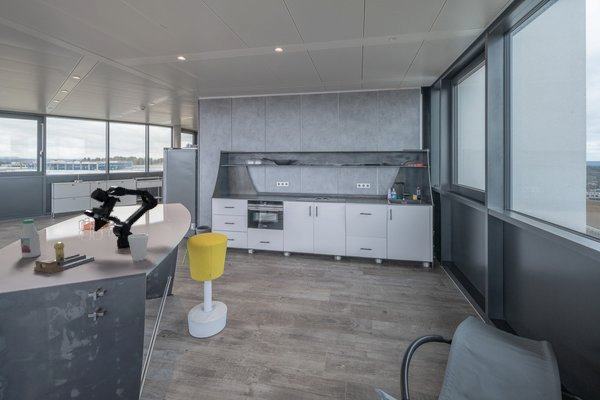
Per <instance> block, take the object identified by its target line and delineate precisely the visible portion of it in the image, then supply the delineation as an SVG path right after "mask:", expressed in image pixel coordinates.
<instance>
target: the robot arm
mask: <svg viewBox="0 0 600 400" xmlns="http://www.w3.org/2000/svg"><path fill="white" fill-rule="evenodd" d="M124 196H140V199H141V201H142V203H141V206H139V208H137V209H136V210H135V211H134V212H132V214H131V215H130V216H128V218H126V219H125V220H124V221H121V219H120V218H118V217H116V216H113V215H111V214H112V213H113V212H115V211H114V208H115V206H116V205H117V203H121V202H122V201H121V199H120V197H124ZM90 198H91V199H92V200H95V201H97V202H99V203H103V204H100V205H99V206H93V207H92V209H91V210H88V209H86V210H85V211H84V212H83V215H85V216H87V217H88V218H92V219H93V221H94V226H93V227H94V229H93V230H94V232H96V233H97V232H98V231H99V230H101V229H102V228H103V227H104V226H106V225H107V224H110V222H113V224H114V225H113V227H112V233H113V234H114V235H115V237H116V238H117V239H116V245H117V246H116V247H117V249H125V248H130V245H129V241H128V236H129V235H133V233H132V231H131V228H132V226H133V225H134V224H136V222H137V221H138V220H140V218H142V217H143V216H144V215H145V214H146V213H147V212H148V211H151V210H153V209H155V208H156V207H157V206H158V203H159V202H158V199H157V198H155V196H154V195H152V194H151V193H150V192H149V191H148V190H147V189H133V188H131V189H130V188H125V187H123V186H117V185H111V186H110V187H109V188H107V189H106V190H104V189H102V188H100V187H97V188H96V189H95V190H93V191H92V192H91V194H90Z"/></svg>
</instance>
